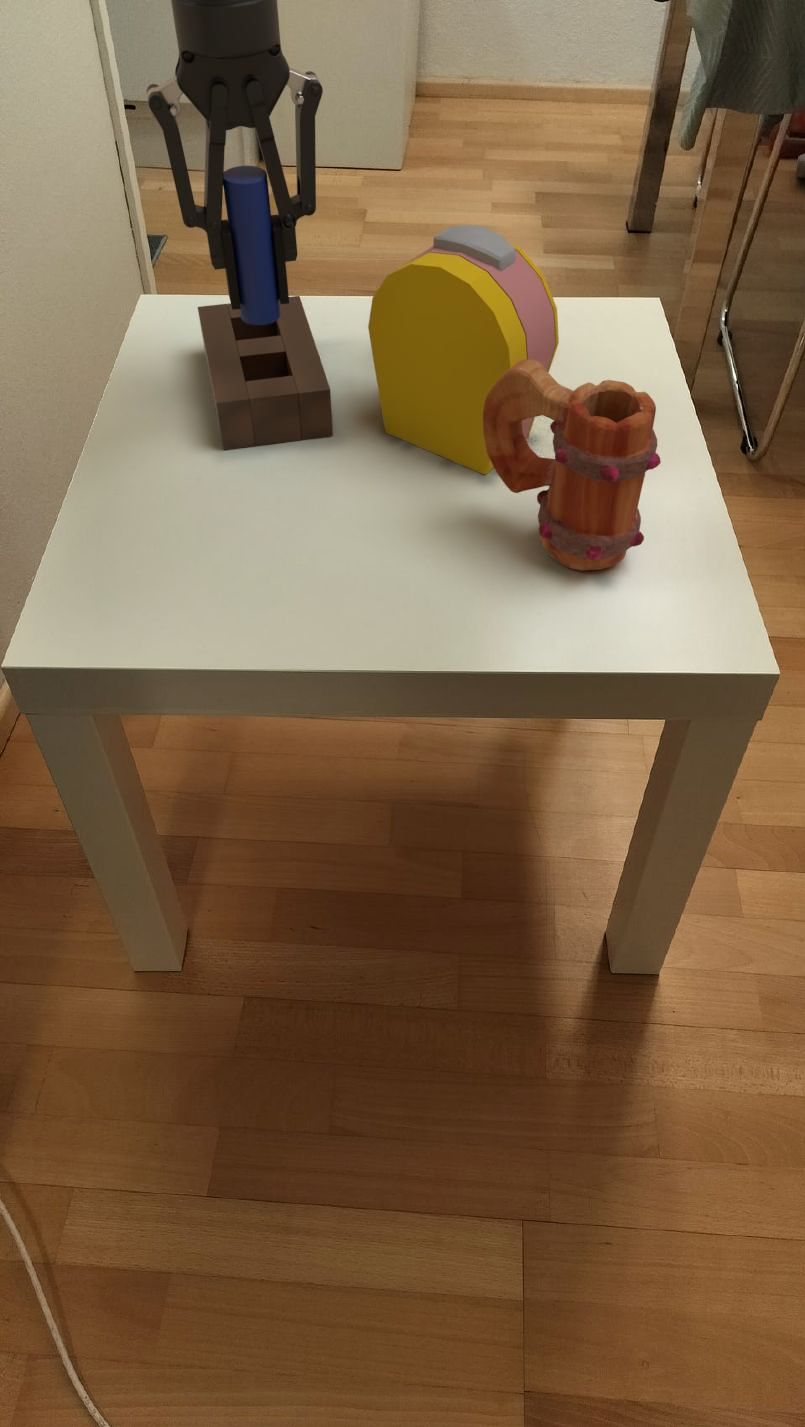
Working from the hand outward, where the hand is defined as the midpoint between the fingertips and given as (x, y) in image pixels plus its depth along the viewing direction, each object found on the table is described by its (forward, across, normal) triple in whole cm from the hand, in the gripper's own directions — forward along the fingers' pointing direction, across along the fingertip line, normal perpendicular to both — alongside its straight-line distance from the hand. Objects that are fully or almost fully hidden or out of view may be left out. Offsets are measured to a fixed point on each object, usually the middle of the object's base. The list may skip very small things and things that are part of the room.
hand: (258, 298), depth 88 cm
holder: (+11, 0, -4) cm, 12 cm away
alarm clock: (+12, -17, +7) cm, 22 cm away
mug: (+12, -21, +24) cm, 34 cm away
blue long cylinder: (+2, 0, 0) cm, 2 cm away
